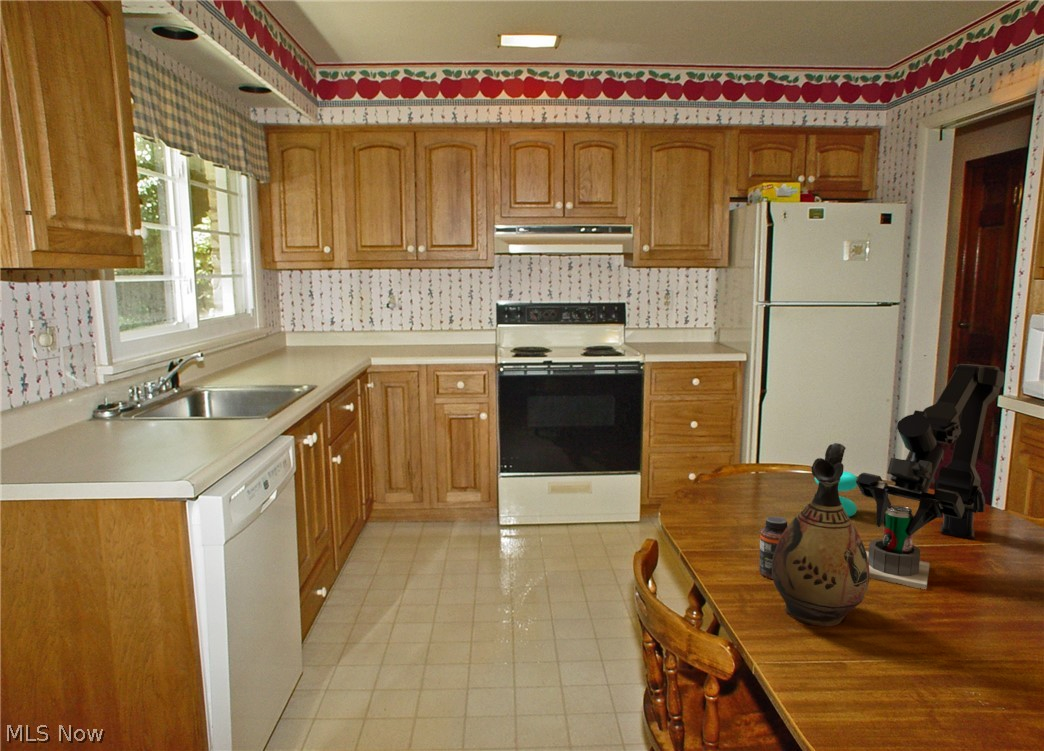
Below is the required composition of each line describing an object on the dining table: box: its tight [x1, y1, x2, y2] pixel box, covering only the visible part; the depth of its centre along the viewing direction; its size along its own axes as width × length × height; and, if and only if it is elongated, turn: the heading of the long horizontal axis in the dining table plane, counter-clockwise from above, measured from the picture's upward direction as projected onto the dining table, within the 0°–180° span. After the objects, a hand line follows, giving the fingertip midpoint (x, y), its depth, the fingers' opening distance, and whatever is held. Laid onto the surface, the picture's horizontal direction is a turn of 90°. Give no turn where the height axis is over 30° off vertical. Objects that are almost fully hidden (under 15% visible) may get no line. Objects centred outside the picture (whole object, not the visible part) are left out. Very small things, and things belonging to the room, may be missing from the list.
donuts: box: [814, 470, 858, 518], centre depth 168 cm, size 10×10×10 cm
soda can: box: [882, 504, 915, 554], centre depth 133 cm, size 5×5×12 cm
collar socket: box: [866, 538, 930, 591], centre depth 134 cm, size 12×12×5 cm
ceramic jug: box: [771, 442, 871, 627], centre depth 116 cm, size 17×15×30 cm
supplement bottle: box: [758, 516, 788, 580], centre depth 132 cm, size 6×6×11 cm
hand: (893, 530), depth 132 cm, fingers open, 5 cm apart
